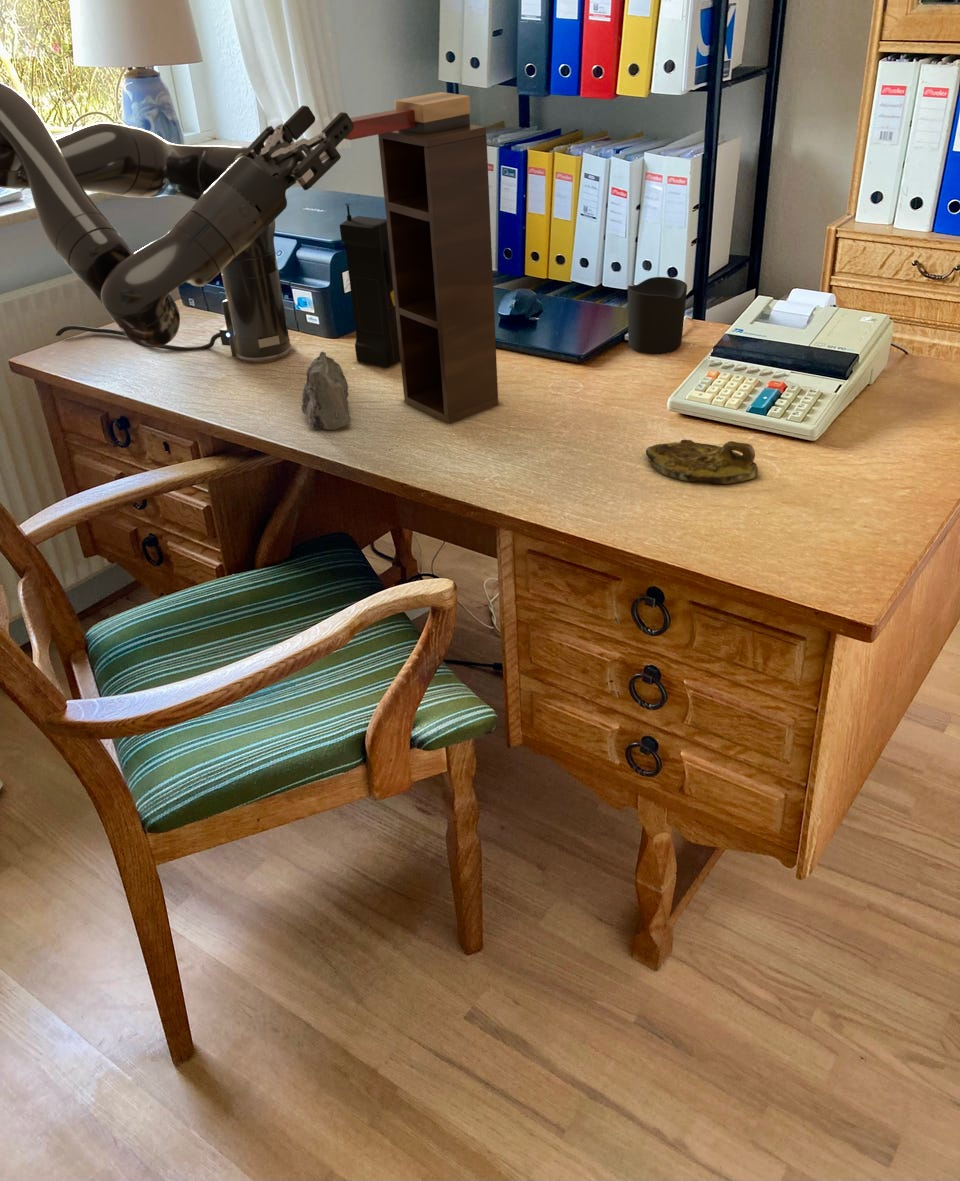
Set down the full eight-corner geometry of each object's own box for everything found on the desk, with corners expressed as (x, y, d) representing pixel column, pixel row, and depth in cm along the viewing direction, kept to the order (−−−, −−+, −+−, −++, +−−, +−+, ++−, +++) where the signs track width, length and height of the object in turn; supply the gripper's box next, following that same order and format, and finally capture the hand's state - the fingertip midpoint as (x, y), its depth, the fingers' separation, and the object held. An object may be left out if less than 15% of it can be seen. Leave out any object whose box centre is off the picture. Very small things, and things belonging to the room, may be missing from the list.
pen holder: (687, 354, 166) (691, 293, 161) (629, 357, 167) (631, 296, 161) (678, 334, 174) (682, 275, 168) (623, 337, 174) (624, 278, 169)
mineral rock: (329, 391, 161) (320, 329, 156) (387, 401, 157) (380, 338, 151) (279, 424, 152) (268, 359, 146) (339, 436, 147) (330, 369, 142)
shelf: (404, 402, 156) (377, 129, 135) (453, 384, 161) (434, 118, 139) (448, 424, 149) (427, 139, 127) (498, 404, 154) (486, 126, 132)
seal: (633, 479, 134) (748, 498, 128) (633, 449, 131) (750, 466, 125) (655, 442, 140) (766, 458, 135) (655, 412, 137) (768, 427, 132)
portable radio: (414, 357, 171) (400, 202, 157) (393, 369, 167) (376, 211, 153) (377, 350, 175) (359, 197, 161) (355, 362, 171) (335, 206, 157)
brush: (332, 142, 129) (328, 112, 127) (443, 120, 137) (441, 91, 136) (359, 148, 125) (355, 117, 123) (471, 125, 134) (469, 95, 132)
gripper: (228, 222, 128) (314, 134, 131) (287, 243, 119) (378, 148, 122) (190, 173, 123) (281, 82, 125) (248, 191, 114) (345, 92, 116)
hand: (329, 115), depth 124 cm, fingers open, 8 cm apart
